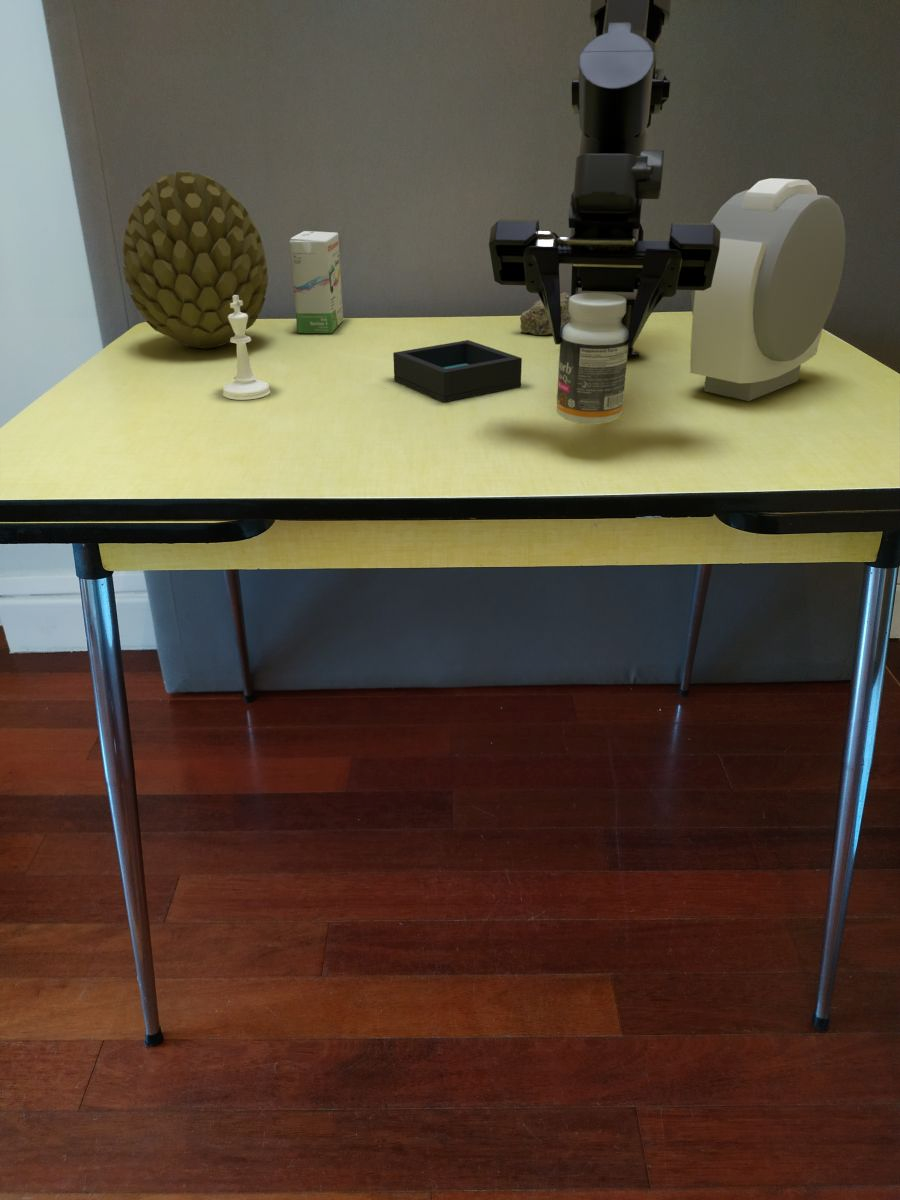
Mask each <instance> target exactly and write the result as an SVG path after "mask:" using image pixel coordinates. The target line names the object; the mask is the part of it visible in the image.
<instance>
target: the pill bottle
mask: <svg viewBox="0 0 900 1200" xmlns="http://www.w3.org/2000/svg"><path fill="white" fill-rule="evenodd" d="M568 312H569V315H570V317H571V321H570V322H569V323H568V324H566V325H565V326H564V328H562V332H561V341H560V344H559V357H558V375H557V393H556V412H557V414H558V415H559V416H560V417H561V418H562V419H564V420H566V421H568V422H572V423H576V424H581V425H600V424H606V423H611V422H613V421H616V420H617V419H618V418H619V417H620V416H621V415H622V412H623V408H624V399H625V386H626V385H625V384H626V374H627V367H628V366H627V365H628V358H627V357H628V348H629V347H628V339H629V332H628V330H627V328H626V327H625V326H624V325H623V324H622V318H623V317H624V315H625V314H626V298H624V297H622V296H619V295H615V294H609V293H581V294H576V295H573V296H571V297H570V299H569V308H568Z"/></svg>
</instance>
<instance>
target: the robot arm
mask: <svg viewBox="0 0 900 1200" xmlns="http://www.w3.org/2000/svg"><path fill="white" fill-rule="evenodd" d="M671 7H672V0H590V5H589V22H590V23H589V24H590V28H591V29H593V28H595V37H594V38H593V39H592V40H591V41H589V42H588V43H587V44H586V46H584V48H583V50H582V52H580V53H579V58H578V69H577V70H576V71H575V73H574V75H573V77H572V78H571V107H572V110H573V114H574V115H578V121H579V122H578V123H579V128H580V131H581V138H580V147H579V155H578V156H576V159H575V171H574V172H575V173H574V183H573V191H571V194H570V202H569V211H568V228H569V229H570V235H569V236H560V235H558V234H557V233H555V232H554V231H550V230H549V231H548V230H543V231H542V230H540V220H539V219H507V218H506V219H505V218H504V219H503V218H499V219H498V220H497V221H496V222H495V223H494V224H493V225H492V226H491V227H490V233H489V241H488V247H489V255H490V261H491V267H492V273H493V280H494V282H496V283H497V284H499V285H501V286H525V290H526V291H527V292H528V293H531V294H537V295H538V297H539V300H540V299H541V301H542V303H543V306H544V308H545V310H546V312H547V315H548V319H549V322H550V326H551V330H552V334H551V335H552V337H553V342H554V344H555V345H559V346H560V341H561V332H562V329H563V328H562V326H561V303H560V294H561V284H560V283H561V281H560V280H561V279H560V264H563V265H571V282H570V283H571V284H570V285H571V287H570V295H571V296H573V295H576V294H581V293H609V294H615V295H619V296H622V297H624V298H626V314H625V315H624V317H623V318H622V324H623V325H624V326H625V327H626V328H627V330H628V332H629V339H628V347H629V348H628V357H627V359H632V358H639V357H640V356H641V352H639V351H638V350H635V349H634V346H635V344H636V342H637V340H638V338H639V337H640V334H641V332H642V331H643V329H644V327H645V325H646V323H647V321H648V319H649V318H650V316H651V315H652V313H653V312H654V310H655V309H656V308H657V307H658V305H660V303H661V301H662V300H663V299H664V298H672V297H675V296H676V294H677V291H692V290H699V291H704V290H706V289H708V288H710V287H711V285H712V281H713V276H714V272H715V267H716V263H717V258H718V254H719V248H720V233H721V232H720V230H719V229H718V228H717V227H716V225H715V224H714V223H711V222H688V221H687V222H682V221H681V222H680V221H679V222H678V221H677V222H676V221H675V222H673V221H672V222H671V224H670V233H669V238H668V239H669V240H668V241H666V240H664V241H663V240H661V241H660V240H659V241H658V240H644V228H643V226H642V224H641V217H642V215H641V214H642V205H643V200H659V199H660V198H661V189H662V179H663V171H664V157H665V156H664V155H665V150H663V149H647V142H648V134H647V130H646V129H648V128H650V127H651V123H652V115H660V113H661V111H663V106H664V104H665V103H666V102H667V101H668V99H669V98H670V88H671V81H670V80H668V78H667V77H666V74H665V73H664V68H656V66H657V58H658V57H657V56H658V53H659V51H660V48H661V39H662V30H663V27H669V25H670V16H671ZM579 289H581V290H579ZM635 290H637V291H636V292H635Z"/></svg>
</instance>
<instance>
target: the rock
mask: <svg viewBox="0 0 900 1200" xmlns="http://www.w3.org/2000/svg"><path fill="white" fill-rule="evenodd" d="M570 297H571V294H570V293H568V292H565V291H564V292H560V303H561V326H562V329H563V328H564V326H565V325H566V324H568V323H569V322H570V321H571V317H570V315H569V312H568V308H569V299H570ZM519 320H520V331H521V332H522V333H530V334H532V335H534V336H546V335H553V334H552V330H551V326H550V322H549V319H548V315H547V312H546V310H545V308H544V306H543V303H542V301H541V299H540V298H539V299H537V300H535V301H533V303H532V305H531V306H530V307H529V308H528V310H526V311H523V312H522V313H521V315H520V316H519Z"/></svg>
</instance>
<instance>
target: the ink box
mask: <svg viewBox="0 0 900 1200" xmlns="http://www.w3.org/2000/svg"><path fill="white" fill-rule="evenodd" d="M339 239H340V238H339V232H335V231H334V232H331V231H318V230H317V231H316V230H304V231H302V232H299V233H298V234H295V235H294V236H292V237H290V240H289V251H290V264H291V274H292V287H293V295H294V296H293V297H294V298H293V299H294V307H295V308H294V310H295V319H296V321H295V322H296V331H297V333H298V334H333V333H334V331H335V330H336V329H337V328H338V327H339V325H341V323H343V321H344V311H343V310H344V309H343V293H342V292H343V291H342V279H341V278H342V276H341V261H340V258H341V257H340V241H339Z"/></svg>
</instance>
